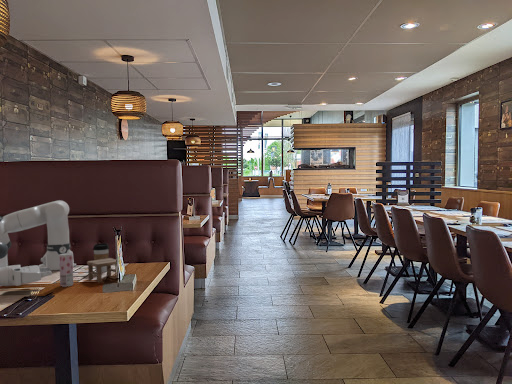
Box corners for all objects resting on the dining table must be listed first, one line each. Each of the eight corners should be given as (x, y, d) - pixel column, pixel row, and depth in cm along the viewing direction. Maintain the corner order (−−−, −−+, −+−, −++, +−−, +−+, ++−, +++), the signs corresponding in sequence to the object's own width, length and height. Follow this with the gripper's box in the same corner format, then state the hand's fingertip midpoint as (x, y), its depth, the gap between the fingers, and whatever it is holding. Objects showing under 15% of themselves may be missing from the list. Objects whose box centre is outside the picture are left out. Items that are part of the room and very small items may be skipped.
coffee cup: (112, 269, 223) (111, 243, 222) (105, 273, 214) (104, 245, 214) (98, 269, 223) (97, 243, 223) (90, 273, 215) (89, 245, 215)
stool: (87, 279, 201) (87, 261, 201) (110, 274, 210) (109, 257, 210) (98, 282, 193) (97, 264, 193) (121, 278, 202) (120, 260, 201)
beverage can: (71, 283, 193) (71, 252, 193) (74, 285, 188) (73, 254, 188) (59, 285, 190) (58, 253, 189) (61, 287, 185) (60, 255, 185)
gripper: (16, 277, 187) (49, 273, 194) (16, 286, 169) (52, 282, 177) (16, 264, 187) (49, 260, 194) (16, 272, 169) (52, 268, 176)
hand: (51, 271), depth 185 cm, fingers open, 8 cm apart
